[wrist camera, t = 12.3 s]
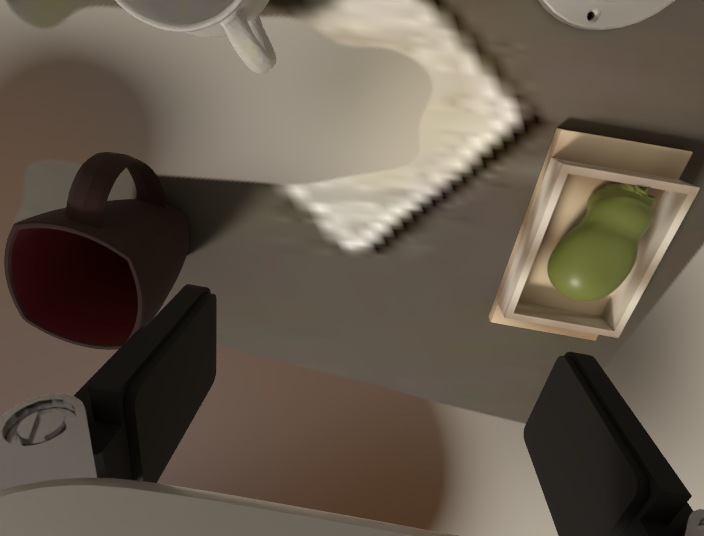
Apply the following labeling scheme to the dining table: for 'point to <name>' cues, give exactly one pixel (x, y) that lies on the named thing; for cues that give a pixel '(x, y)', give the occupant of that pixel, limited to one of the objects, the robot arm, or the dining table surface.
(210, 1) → the teacup
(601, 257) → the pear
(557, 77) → the dining table surface
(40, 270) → the mug
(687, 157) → the open rectangular box
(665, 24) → the dining table surface
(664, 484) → the robot arm
